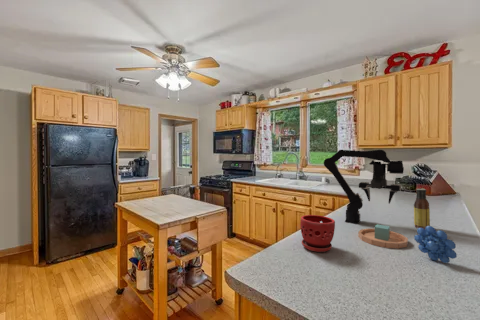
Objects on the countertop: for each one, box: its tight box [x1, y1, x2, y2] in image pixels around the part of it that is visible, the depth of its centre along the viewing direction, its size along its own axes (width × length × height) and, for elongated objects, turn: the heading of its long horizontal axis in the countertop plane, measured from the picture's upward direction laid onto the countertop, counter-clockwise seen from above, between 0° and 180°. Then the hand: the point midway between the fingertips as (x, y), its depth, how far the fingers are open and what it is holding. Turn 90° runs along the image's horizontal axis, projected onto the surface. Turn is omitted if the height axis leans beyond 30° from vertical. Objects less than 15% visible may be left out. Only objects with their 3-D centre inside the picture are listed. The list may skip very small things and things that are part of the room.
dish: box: [357, 228, 409, 249], centre depth 99 cm, size 18×18×2 cm
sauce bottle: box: [413, 188, 431, 229], centre depth 115 cm, size 7×6×20 cm
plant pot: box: [300, 214, 336, 253], centre depth 91 cm, size 13×13×12 cm
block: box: [374, 224, 391, 241], centre depth 99 cm, size 5×5×5 cm
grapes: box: [414, 225, 458, 264], centre depth 79 cm, size 12×7×12 cm, turn 37°
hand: (379, 202), depth 121 cm, fingers open, 9 cm apart
